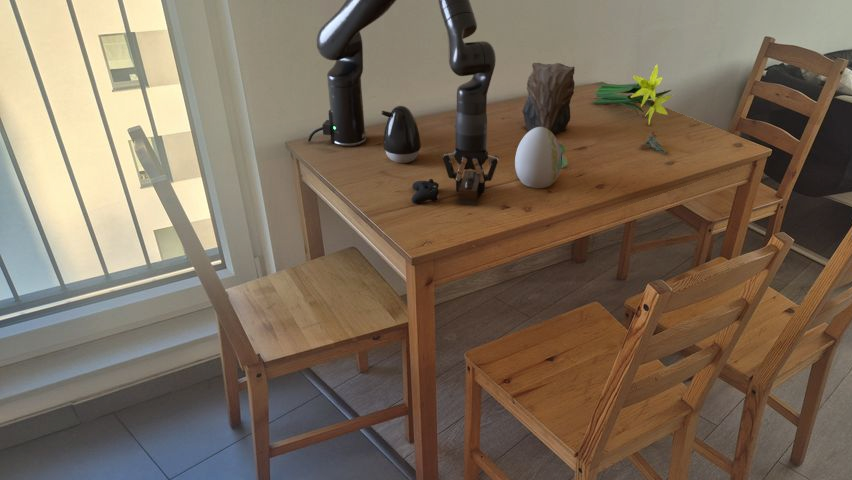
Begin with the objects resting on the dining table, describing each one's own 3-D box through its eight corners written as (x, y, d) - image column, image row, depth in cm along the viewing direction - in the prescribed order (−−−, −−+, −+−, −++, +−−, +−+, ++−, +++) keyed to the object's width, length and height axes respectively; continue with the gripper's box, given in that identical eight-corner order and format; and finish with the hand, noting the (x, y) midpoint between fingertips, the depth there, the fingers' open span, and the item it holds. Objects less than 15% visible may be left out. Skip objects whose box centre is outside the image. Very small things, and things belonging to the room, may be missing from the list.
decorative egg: (566, 189, 176) (572, 134, 168) (522, 193, 173) (525, 137, 165) (550, 171, 186) (555, 118, 178) (508, 174, 183) (510, 121, 175)
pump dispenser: (379, 155, 191) (376, 102, 183) (414, 150, 195) (413, 98, 187) (389, 168, 183) (386, 114, 175) (425, 164, 187) (424, 110, 179)
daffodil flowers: (622, 99, 245) (696, 101, 216) (597, 127, 242) (668, 131, 213) (601, 61, 236) (674, 57, 208) (574, 89, 233) (645, 88, 204)
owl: (519, 126, 215) (523, 62, 204) (551, 120, 221) (556, 57, 211) (544, 139, 206) (549, 73, 196) (576, 132, 213) (582, 67, 202)
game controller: (410, 184, 173) (427, 169, 171) (425, 198, 175) (442, 183, 174) (409, 201, 165) (426, 185, 163) (425, 215, 167) (442, 199, 165)
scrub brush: (476, 206, 166) (476, 187, 163) (458, 205, 166) (458, 186, 164) (481, 186, 176) (481, 168, 173) (464, 185, 176) (464, 166, 174)
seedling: (552, 178, 194) (557, 174, 188) (532, 158, 194) (536, 154, 187) (569, 159, 195) (574, 156, 188) (549, 140, 194) (554, 136, 188)
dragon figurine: (676, 145, 203) (655, 130, 205) (673, 144, 196) (651, 128, 198) (662, 163, 205) (641, 148, 207) (658, 162, 198) (637, 146, 200)
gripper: (502, 125, 165) (499, 189, 174) (444, 121, 165) (444, 185, 175) (499, 136, 158) (497, 202, 168) (439, 132, 159) (439, 198, 168)
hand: (470, 193), depth 171 cm, fingers closed on scrub brush, 4 cm apart
